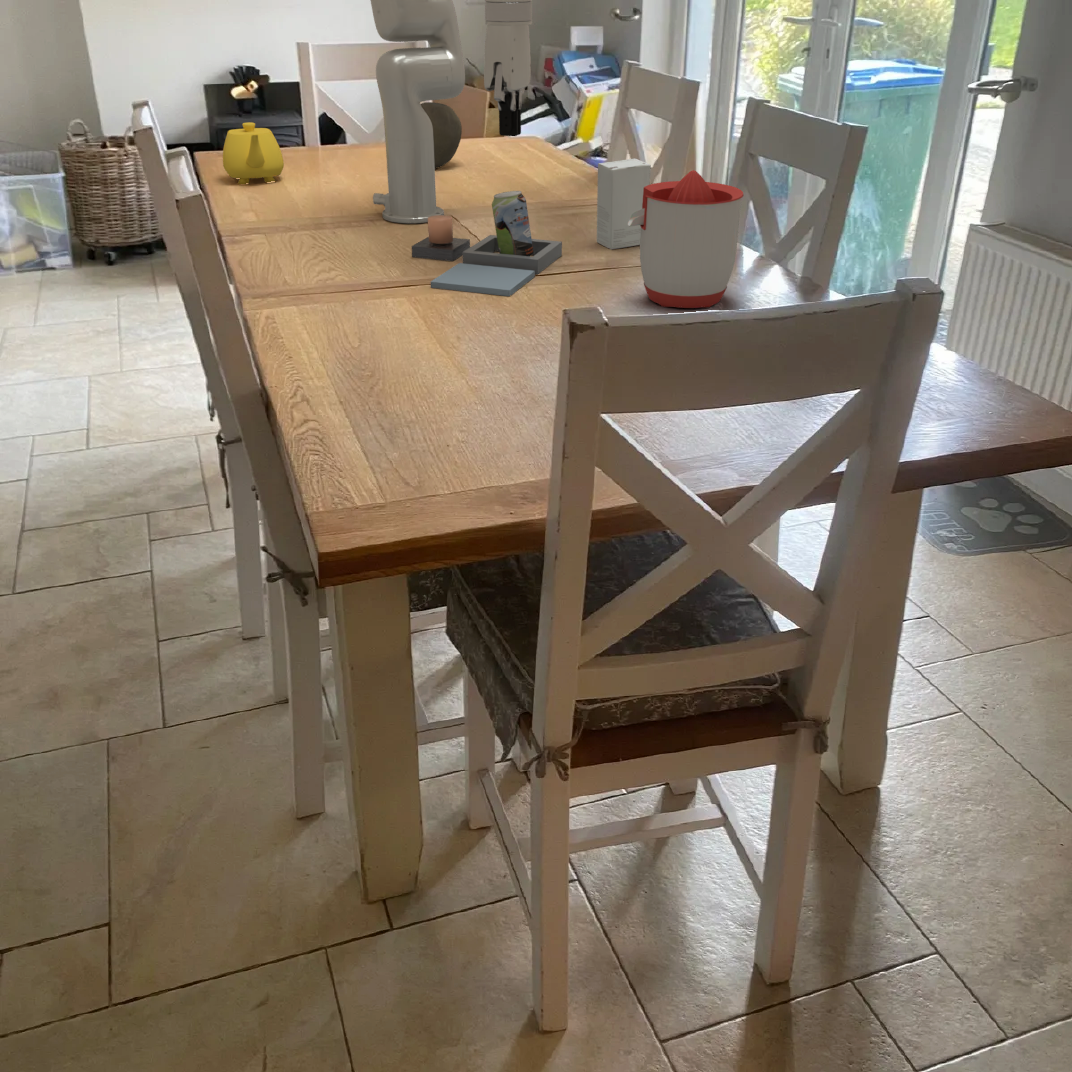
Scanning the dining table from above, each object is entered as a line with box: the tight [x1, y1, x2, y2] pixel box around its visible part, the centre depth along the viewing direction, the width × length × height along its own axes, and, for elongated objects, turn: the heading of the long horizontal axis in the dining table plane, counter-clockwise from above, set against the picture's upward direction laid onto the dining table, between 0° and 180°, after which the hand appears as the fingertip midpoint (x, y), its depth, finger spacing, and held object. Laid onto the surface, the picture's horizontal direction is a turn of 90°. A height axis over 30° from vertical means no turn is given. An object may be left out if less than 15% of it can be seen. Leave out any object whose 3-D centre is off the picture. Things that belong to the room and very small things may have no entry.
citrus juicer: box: [628, 169, 744, 309], centre depth 167 cm, size 16×17×20 cm
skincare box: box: [596, 157, 652, 250], centre depth 198 cm, size 8×6×15 cm
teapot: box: [222, 121, 285, 185], centre depth 247 cm, size 14×20×13 cm
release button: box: [427, 214, 454, 244], centre depth 193 cm, size 4×4×4 cm
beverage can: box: [491, 190, 533, 257], centre depth 188 cm, size 6×7×12 cm
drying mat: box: [430, 262, 536, 297], centre depth 180 cm, size 14×12×1 cm
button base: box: [411, 236, 471, 262], centre depth 195 cm, size 8×8×2 cm
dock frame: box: [461, 234, 563, 275], centre depth 191 cm, size 14×13×2 cm
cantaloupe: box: [420, 101, 463, 169], centre depth 262 cm, size 14×14×15 cm
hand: (510, 134), depth 181 cm, fingers closed
